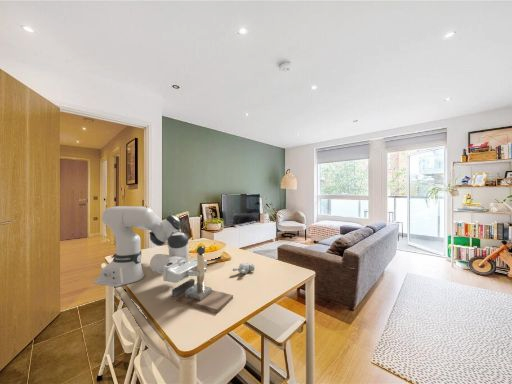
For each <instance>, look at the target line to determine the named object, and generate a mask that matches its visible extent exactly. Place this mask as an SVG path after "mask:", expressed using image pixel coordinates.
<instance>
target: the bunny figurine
mask: <svg viewBox="0 0 512 384" xmlns="http://www.w3.org/2000/svg"><path fill="white" fill-rule="evenodd" d="M255 268H256V267H255V265H254V263H250V262H246V263H244V262H243V263H240V264H239V266H238V267H234V268H233V269H232V271H233V272H234V271H235V272H236V271H238V272H239V273H240V274H244V275H247V274H249V272H255Z"/></svg>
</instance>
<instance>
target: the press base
mask: <svg viewBox="0 0 512 384" xmlns="http://www.w3.org/2000/svg"><path fill="white" fill-rule="evenodd" d="M194 285H195V279H194V278H191V279H189V280H187V281H185V282H183V283H181V284H180V285H178V286H175V288H173V289H171V290H172V291H171V293H172V295H171V297H170V298H171V300H172V301H174V302H177V303H182V304H184V305H187V306H191V307H195V308H198V309H202V310H205V311H209V312H212V313H214V314H215V313H216V314H218V313H220V312H221V311H222V310H223V309H224V308H225V307H226V306H227V304H230V302H231V301H232V300H233V299H234V295H233V294H230V293H226V292H222V291H217V290H214V289H212V292H211V293H209V294H208V295H207V296H205V297H204V298H203V299H201V300H197V299H193V298H190V297H189V298H185V291H186V290H187V289H189V288H191V287H192V286H194Z"/></svg>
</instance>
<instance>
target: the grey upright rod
mask: <svg viewBox="0 0 512 384" xmlns="http://www.w3.org/2000/svg"><path fill="white" fill-rule="evenodd" d="M196 249H197V251H196V253H197V256H196V259H197V271H200V275H199V276H196V278H197V279H196V283H194V286H192V287H191V288H189V289H187V290H186V291H185V298H189V297H190V298H193V299H197V300H201V299H203V298H204V297H205V296H207V295H208V294H209V293H211V292H212V290H213V289H212V287H209V286H206V285H205V272H204V259H205V253H204V252H205V249H206V248H205V247H204V246H202V245H199V246H198V247H197V248H196Z"/></svg>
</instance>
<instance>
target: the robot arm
mask: <svg viewBox="0 0 512 384" xmlns="http://www.w3.org/2000/svg"><path fill="white" fill-rule="evenodd" d="M101 219H102V222H103V224H104V225H105V226H107V227H108V228H109V229H110V230H111V232H112V233H113V235H114V239H115V254H113V255H111V256H110V259H112V260H111V261H110V262H109V263H108V264H107V265H105V266H103V268H102V269H101V270H100V272H99V277H97V278H95V279H94V281H93V285H99V286H100V285H101V286H106V287H115V288H117V287H121V286H124V285H128V284H132V283H135V282H138V281H140V280H142V279H143V278H144V276H145V274H144V272H143V268H142V250H141V249H142V248H141V245H142V244H141V242H142V240H141V237H140V235H139V234H138V233H136V232H134V230H133V228H135V229H139V230H146V231H148V230H149V231H150V232H149V233H148V234H149V240H150V242H151V243H152V244H153V245H155V246H158V247H162V246H164V245H165V244H167V245H166V246H167V248H168V254H165V253H158V254H154V255H153V256H152V257H151V259H150V262H149V266H150V267H149V268H150V269H151V270H152V271H153V272H154V273H158V274H162V277H163V278H162V279H163V282H170V283H174V284H175V283H177V284H178V283H179V282H182V281H183V280H185V279H187V278H188V277H197V276H199V275H200V271H197V258H191V260H189V256H190V253H189V252H190V251H189V235H187V233H185V232H183V231H181V229H182V228H181V221H180V219H179V217H177V216H175V215H172V214H169V215H168V216H166V217H165V219H163V220H162V219H161V217H160V216H159V215H157V214H156V213H154V211H153V209H152V208H150V207H147V206H140V205H139V206H138V205H137V206H129V205H127V206H125V205H121V206H119V205H118V206H112V207H107V208H105V209H104V211H103V212H102V215H101ZM179 230H180V231H179ZM207 267H208V261H207V259H206V258H204V273H206V272H207Z"/></svg>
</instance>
